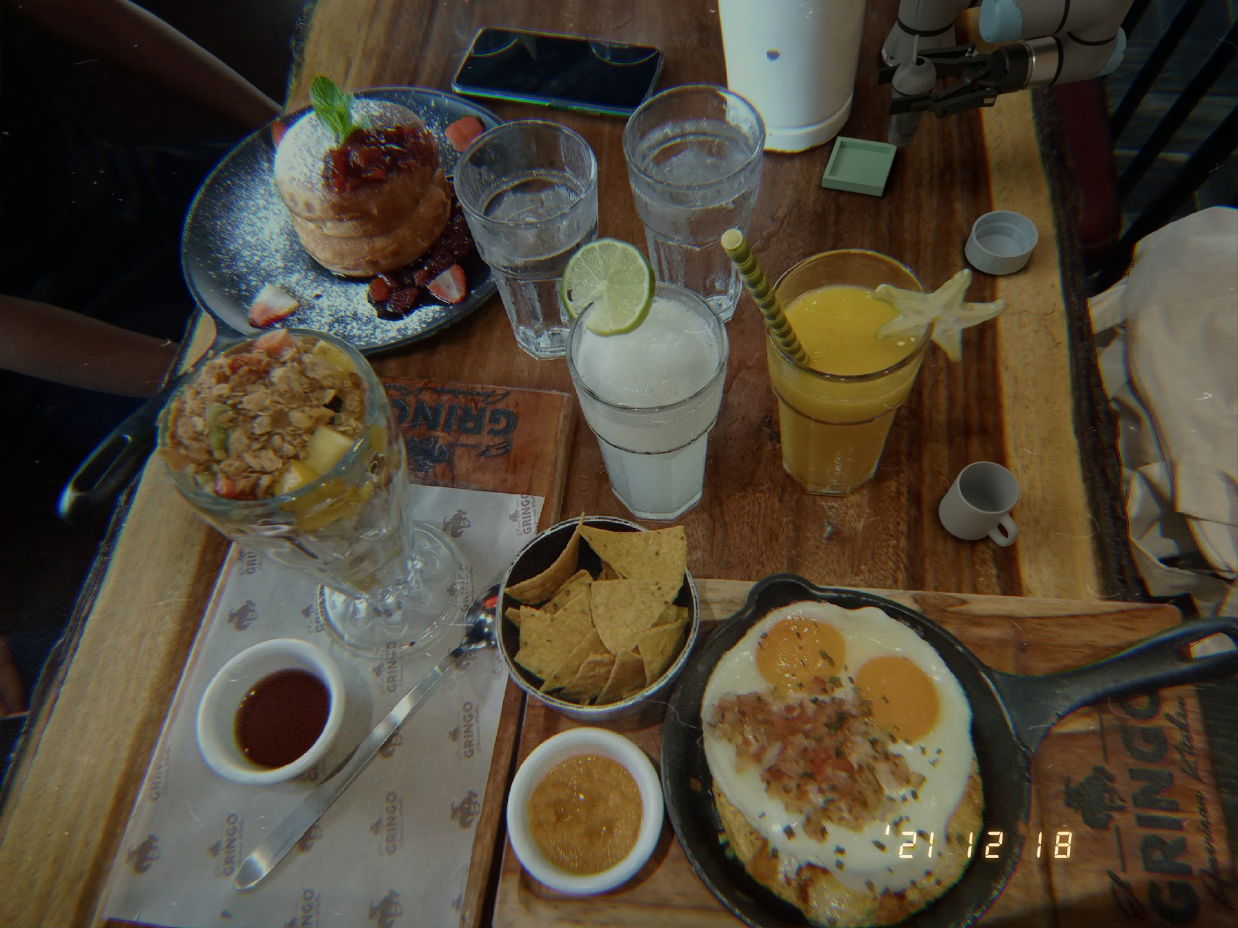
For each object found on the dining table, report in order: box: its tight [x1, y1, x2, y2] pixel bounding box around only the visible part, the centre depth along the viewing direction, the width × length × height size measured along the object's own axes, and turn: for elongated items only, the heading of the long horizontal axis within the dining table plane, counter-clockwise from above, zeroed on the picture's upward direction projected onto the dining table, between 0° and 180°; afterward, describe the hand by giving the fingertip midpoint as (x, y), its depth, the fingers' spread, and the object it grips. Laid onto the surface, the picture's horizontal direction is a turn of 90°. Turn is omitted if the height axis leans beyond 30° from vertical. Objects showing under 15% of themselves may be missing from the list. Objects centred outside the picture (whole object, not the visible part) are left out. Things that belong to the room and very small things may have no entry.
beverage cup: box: [887, 35, 937, 148], centre depth 127 cm, size 7×7×20 cm
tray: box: [821, 136, 898, 197], centre depth 148 cm, size 12×12×2 cm
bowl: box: [964, 209, 1040, 276], centre depth 134 cm, size 11×11×5 cm
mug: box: [938, 461, 1020, 547], centre depth 109 cm, size 12×8×11 cm
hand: (883, 92), depth 126 cm, fingers closed on beverage cup, 7 cm apart
